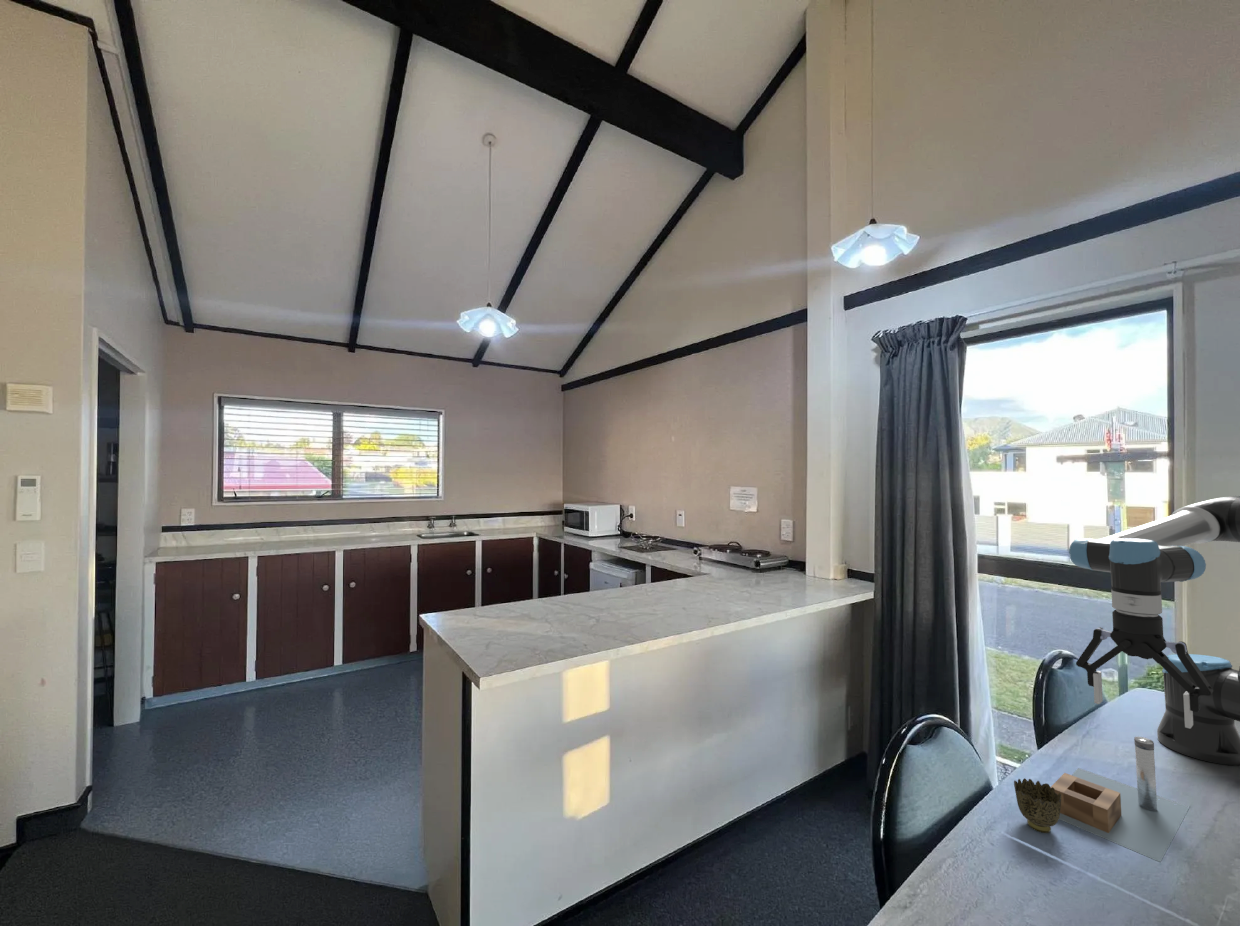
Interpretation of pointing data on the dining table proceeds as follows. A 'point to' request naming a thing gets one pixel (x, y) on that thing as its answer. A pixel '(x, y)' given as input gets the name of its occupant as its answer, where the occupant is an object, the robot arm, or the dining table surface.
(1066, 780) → the wooden block with hole
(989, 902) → the dining table surface
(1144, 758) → the metal cylinder rod
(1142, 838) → the mat
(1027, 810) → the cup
